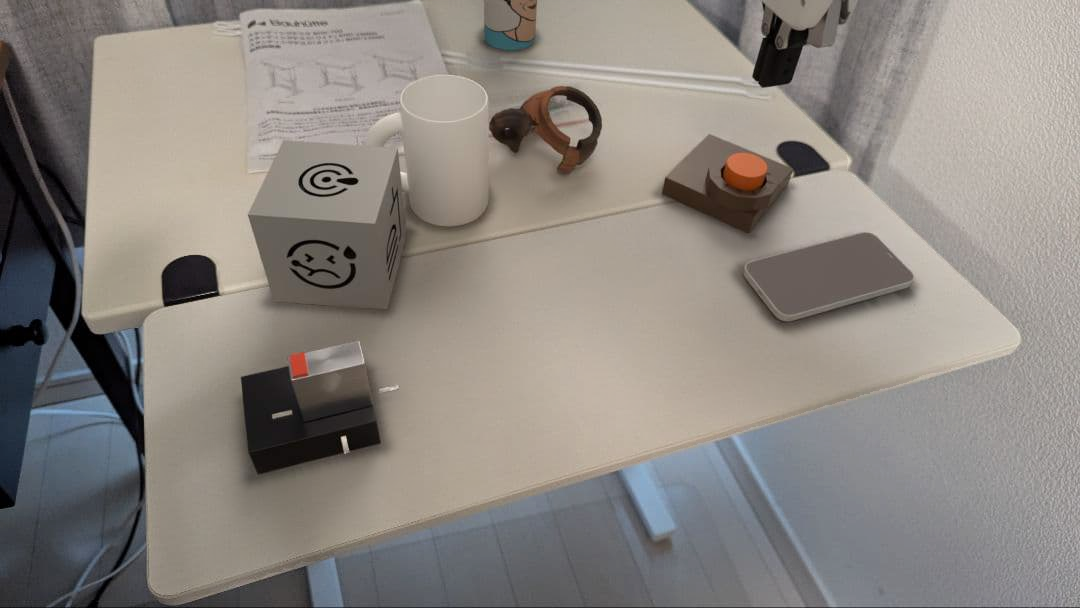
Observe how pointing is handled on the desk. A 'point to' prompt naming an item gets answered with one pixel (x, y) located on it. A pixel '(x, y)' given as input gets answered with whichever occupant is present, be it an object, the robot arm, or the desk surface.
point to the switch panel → (298, 424)
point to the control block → (723, 184)
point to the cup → (510, 23)
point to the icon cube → (331, 224)
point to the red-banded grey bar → (330, 380)
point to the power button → (745, 171)
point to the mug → (442, 148)
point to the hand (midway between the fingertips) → (771, 80)
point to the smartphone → (827, 276)
